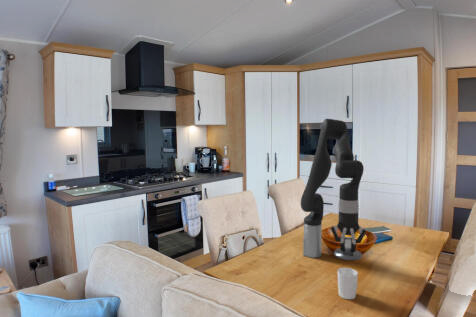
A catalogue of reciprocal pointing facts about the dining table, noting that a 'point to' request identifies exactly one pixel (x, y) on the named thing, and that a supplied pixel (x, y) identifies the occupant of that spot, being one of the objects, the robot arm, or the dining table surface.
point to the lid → (347, 251)
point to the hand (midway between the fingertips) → (347, 251)
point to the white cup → (347, 283)
